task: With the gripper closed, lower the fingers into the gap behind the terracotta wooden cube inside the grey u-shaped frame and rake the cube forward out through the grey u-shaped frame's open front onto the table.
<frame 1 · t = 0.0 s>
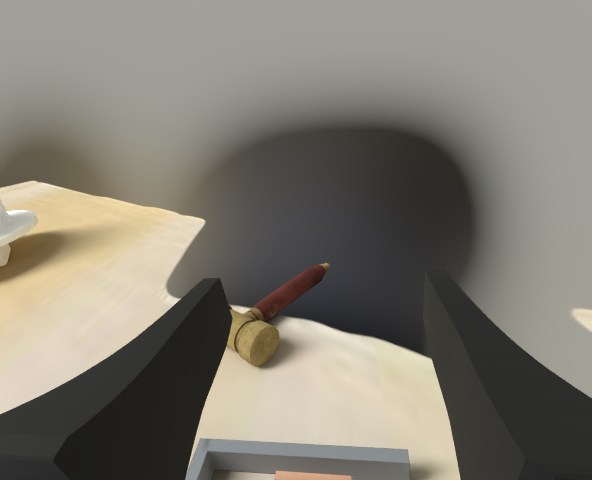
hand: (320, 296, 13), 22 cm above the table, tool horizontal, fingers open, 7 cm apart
gavel: (284, 309, 49), on the table
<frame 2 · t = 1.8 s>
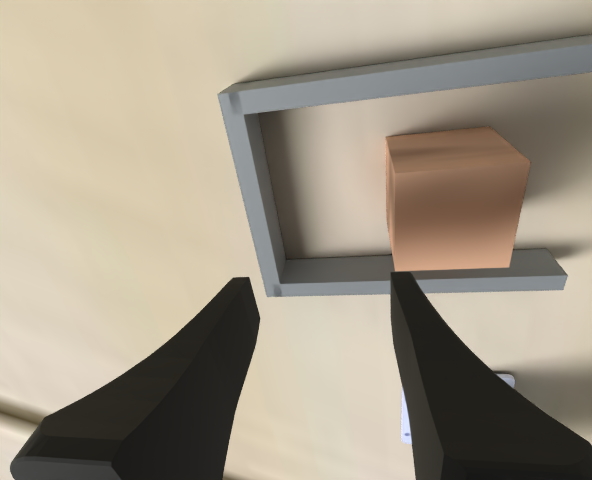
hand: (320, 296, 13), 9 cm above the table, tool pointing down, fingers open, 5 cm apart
grey u-shaped frame: (424, 178, 20), on the table
cube: (433, 177, 20), resting in grey u-shaped frame
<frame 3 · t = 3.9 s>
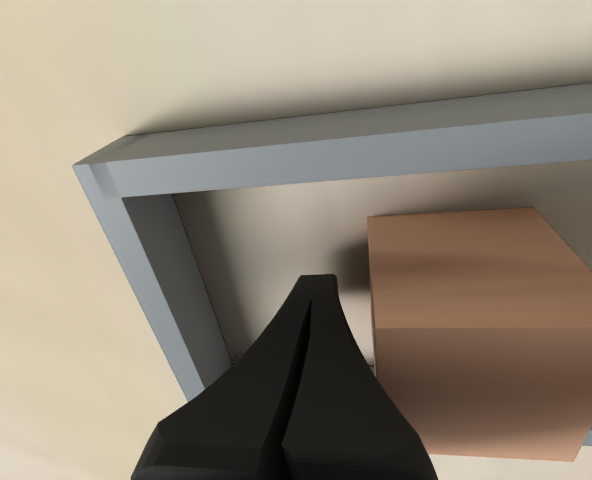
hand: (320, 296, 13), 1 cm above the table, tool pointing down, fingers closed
grey u-shaped frame: (425, 275, 13), on the table
cube: (441, 273, 13), resting in grey u-shaped frame, touching gripper
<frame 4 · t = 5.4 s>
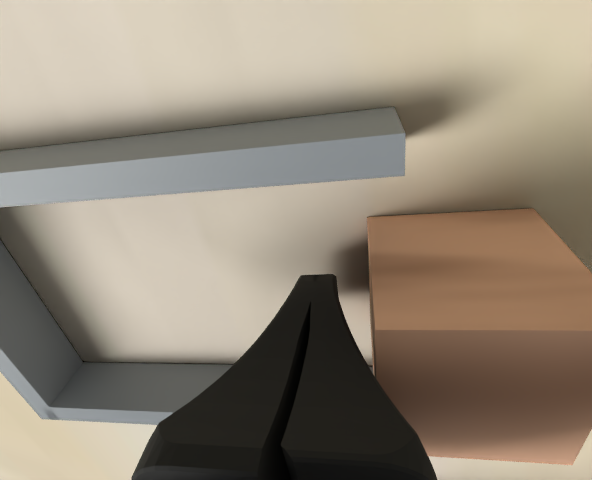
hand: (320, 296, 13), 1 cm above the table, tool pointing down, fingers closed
grey u-shaped frame: (212, 282, 14), on the table
cube: (440, 274, 13), on the table, touching gripper
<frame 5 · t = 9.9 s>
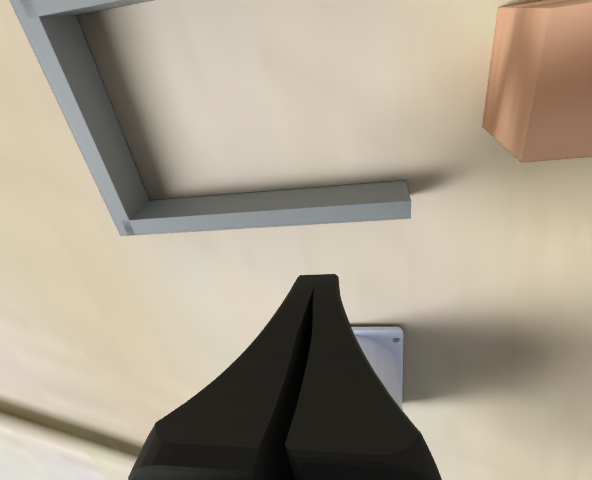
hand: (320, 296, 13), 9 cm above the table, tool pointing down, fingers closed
grey u-shaped frame: (264, 101, 18), on the table
cube: (549, 63, 16), on the table
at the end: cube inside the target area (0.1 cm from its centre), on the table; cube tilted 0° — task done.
